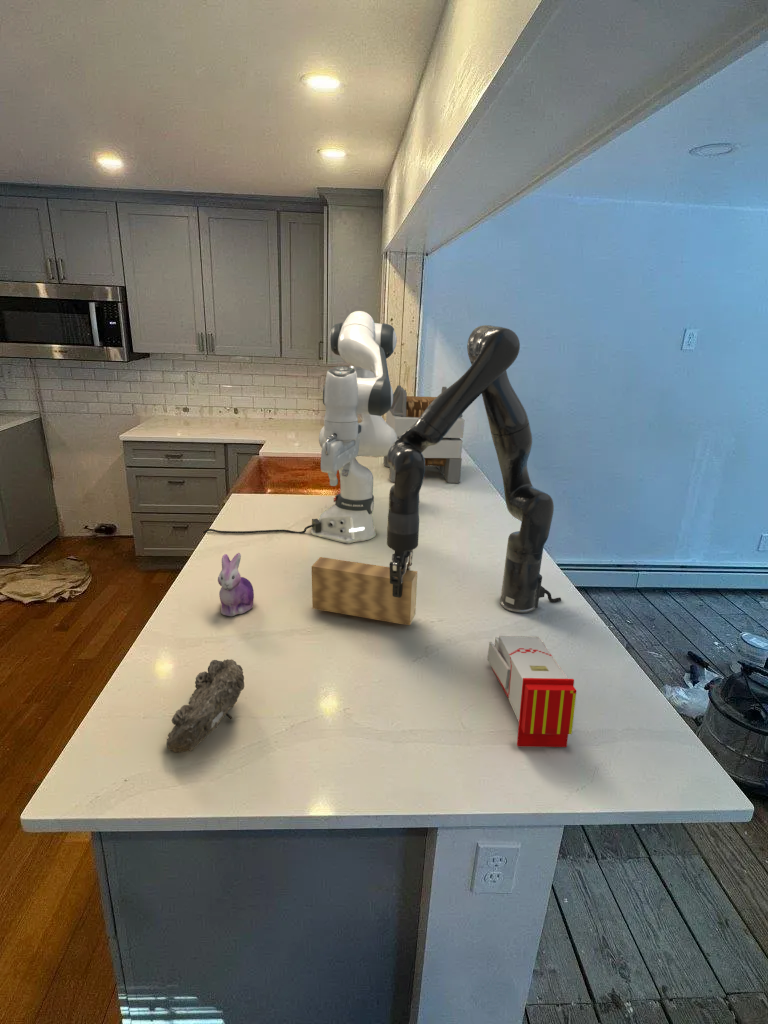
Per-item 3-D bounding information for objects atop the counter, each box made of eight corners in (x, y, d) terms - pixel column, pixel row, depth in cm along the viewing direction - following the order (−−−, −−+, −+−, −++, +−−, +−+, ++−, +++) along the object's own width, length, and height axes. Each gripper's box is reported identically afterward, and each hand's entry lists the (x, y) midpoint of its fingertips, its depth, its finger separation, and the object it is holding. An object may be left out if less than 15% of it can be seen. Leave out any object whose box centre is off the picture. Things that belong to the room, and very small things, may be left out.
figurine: (223, 621, 140) (219, 566, 135) (214, 602, 149) (210, 550, 144) (260, 613, 144) (258, 559, 139) (250, 595, 153) (247, 544, 148)
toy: (536, 619, 129) (586, 686, 99) (531, 673, 131) (578, 754, 102) (483, 618, 128) (517, 685, 99) (479, 672, 131) (511, 753, 102)
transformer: (382, 463, 289) (386, 382, 275) (445, 464, 293) (451, 384, 279) (390, 482, 257) (394, 392, 243) (460, 483, 261) (468, 394, 247)
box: (312, 608, 146) (311, 566, 141) (320, 598, 151) (320, 556, 147) (410, 625, 139) (412, 581, 135) (415, 613, 144) (417, 571, 140)
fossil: (192, 660, 117) (244, 628, 112) (224, 691, 120) (276, 661, 115) (142, 746, 98) (202, 712, 93) (182, 779, 101) (242, 748, 96)
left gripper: (338, 439, 140) (337, 492, 144) (363, 424, 158) (362, 472, 163) (314, 437, 141) (314, 489, 146) (342, 422, 160) (341, 470, 164)
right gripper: (411, 540, 127) (408, 606, 133) (425, 519, 140) (421, 580, 146) (379, 536, 129) (377, 601, 134) (395, 515, 142) (393, 575, 147)
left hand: (339, 480), depth 154 cm, fingers open, 8 cm apart
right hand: (400, 590), depth 140 cm, fingers closed on box, 6 cm apart
